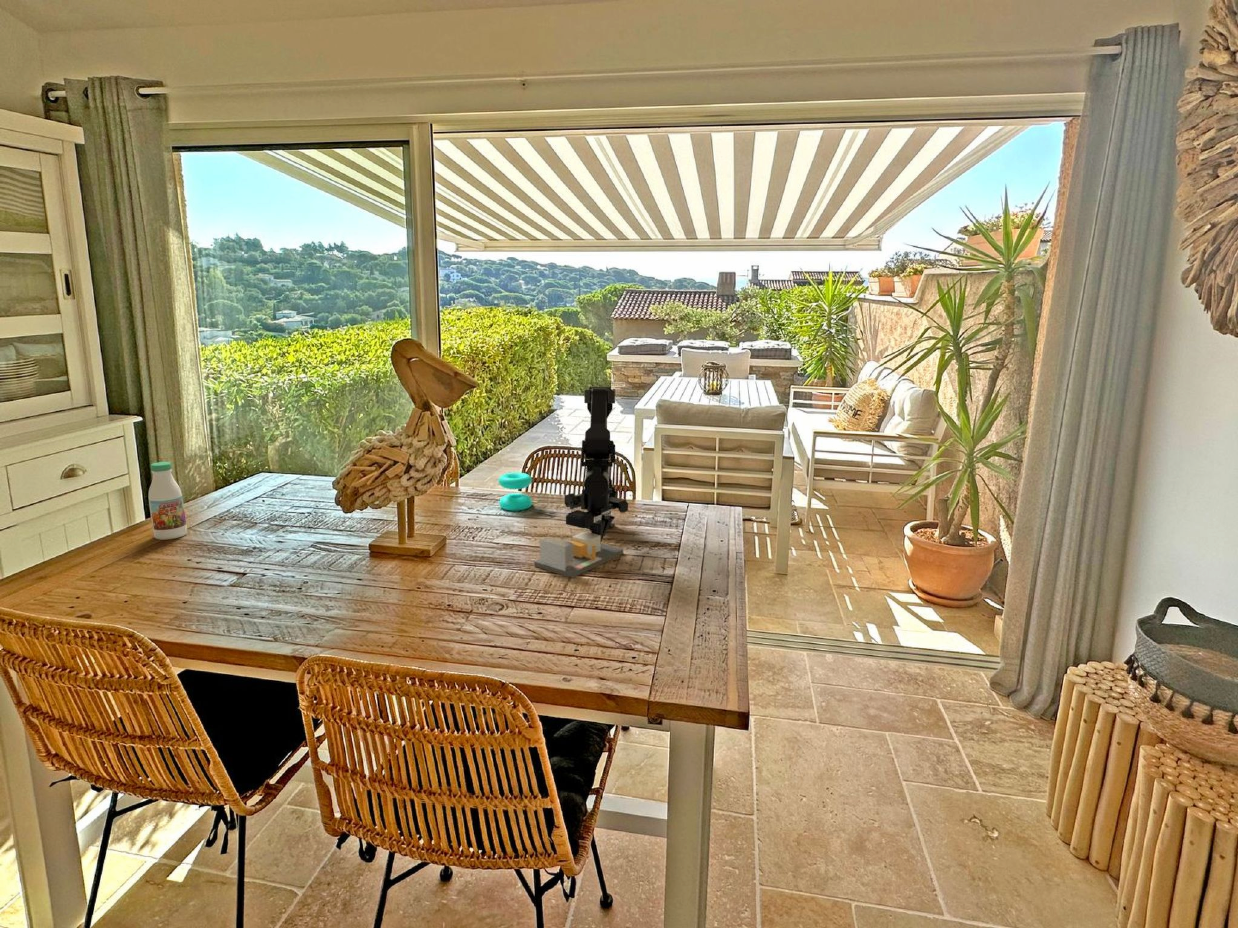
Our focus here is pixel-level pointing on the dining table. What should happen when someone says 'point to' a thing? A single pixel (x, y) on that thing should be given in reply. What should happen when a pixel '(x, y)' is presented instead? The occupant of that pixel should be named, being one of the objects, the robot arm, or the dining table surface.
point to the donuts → (515, 500)
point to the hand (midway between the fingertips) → (597, 544)
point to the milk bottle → (166, 504)
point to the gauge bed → (577, 561)
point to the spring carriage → (588, 541)
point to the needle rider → (583, 550)
